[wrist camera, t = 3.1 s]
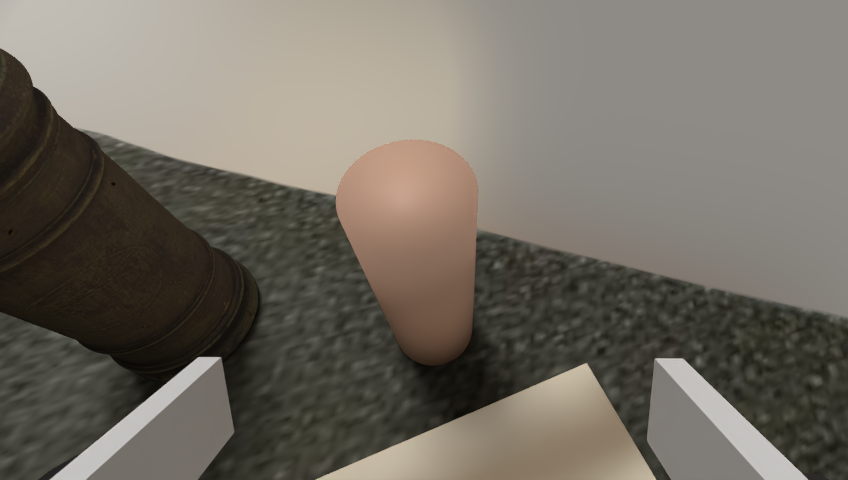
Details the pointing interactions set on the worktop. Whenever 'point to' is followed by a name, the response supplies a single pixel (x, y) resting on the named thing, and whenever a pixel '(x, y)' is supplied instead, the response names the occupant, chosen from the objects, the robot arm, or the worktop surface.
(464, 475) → the band board
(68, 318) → the container
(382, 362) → the worktop surface
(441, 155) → the peg
